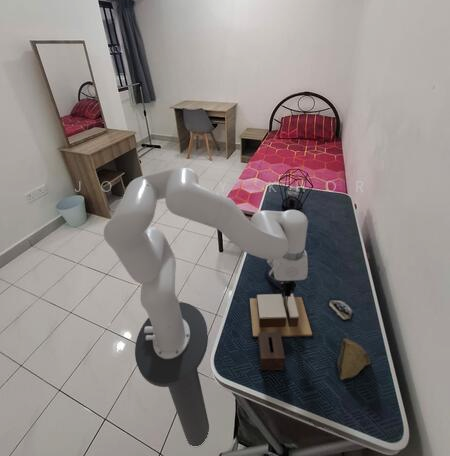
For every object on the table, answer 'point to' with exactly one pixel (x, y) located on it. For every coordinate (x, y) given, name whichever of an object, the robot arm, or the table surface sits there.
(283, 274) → the robot arm
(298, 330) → the board
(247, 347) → the table surface
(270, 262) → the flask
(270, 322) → the cake loaf
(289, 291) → the knife
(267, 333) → the knife block
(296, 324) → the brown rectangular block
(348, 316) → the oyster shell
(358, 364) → the rock
